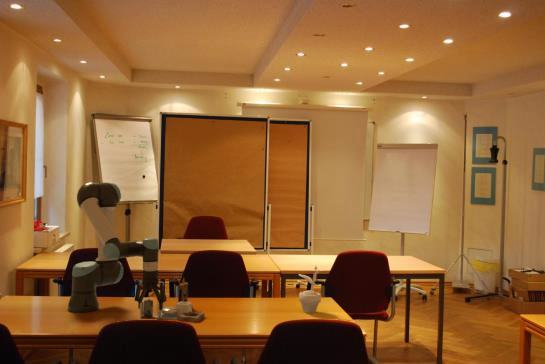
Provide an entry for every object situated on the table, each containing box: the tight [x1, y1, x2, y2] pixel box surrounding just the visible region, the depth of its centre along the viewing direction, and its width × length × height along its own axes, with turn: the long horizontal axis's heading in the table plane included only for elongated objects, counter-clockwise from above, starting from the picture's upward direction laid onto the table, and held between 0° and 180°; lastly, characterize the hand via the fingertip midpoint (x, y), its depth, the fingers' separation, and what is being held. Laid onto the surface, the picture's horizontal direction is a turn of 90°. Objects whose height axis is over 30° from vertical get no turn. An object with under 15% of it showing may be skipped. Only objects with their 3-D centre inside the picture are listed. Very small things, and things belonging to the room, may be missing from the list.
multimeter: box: [177, 269, 196, 311], centre depth 292 cm, size 15×10×20 cm
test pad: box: [161, 306, 179, 314], centre depth 277 cm, size 9×9×2 cm
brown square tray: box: [177, 311, 205, 323], centre depth 273 cm, size 10×10×2 cm
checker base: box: [152, 313, 179, 321], centre depth 277 cm, size 12×12×1 cm
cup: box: [175, 301, 193, 316], centre depth 279 cm, size 6×6×6 cm
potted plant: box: [298, 266, 322, 314], centre depth 295 cm, size 13×12×25 cm
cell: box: [143, 298, 154, 319], centre depth 274 cm, size 4×4×9 cm
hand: (150, 315), depth 273 cm, fingers open, 8 cm apart
